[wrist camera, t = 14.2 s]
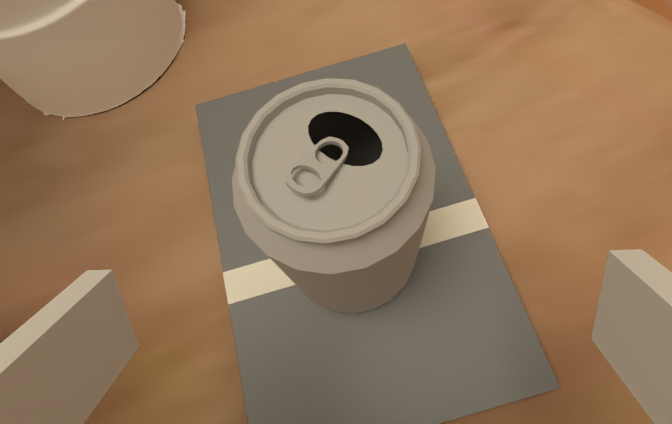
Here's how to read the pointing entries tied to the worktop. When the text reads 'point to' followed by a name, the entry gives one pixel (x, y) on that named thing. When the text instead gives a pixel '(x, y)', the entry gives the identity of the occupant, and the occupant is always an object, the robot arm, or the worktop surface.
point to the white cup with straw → (86, 51)
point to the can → (336, 190)
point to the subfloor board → (388, 319)
